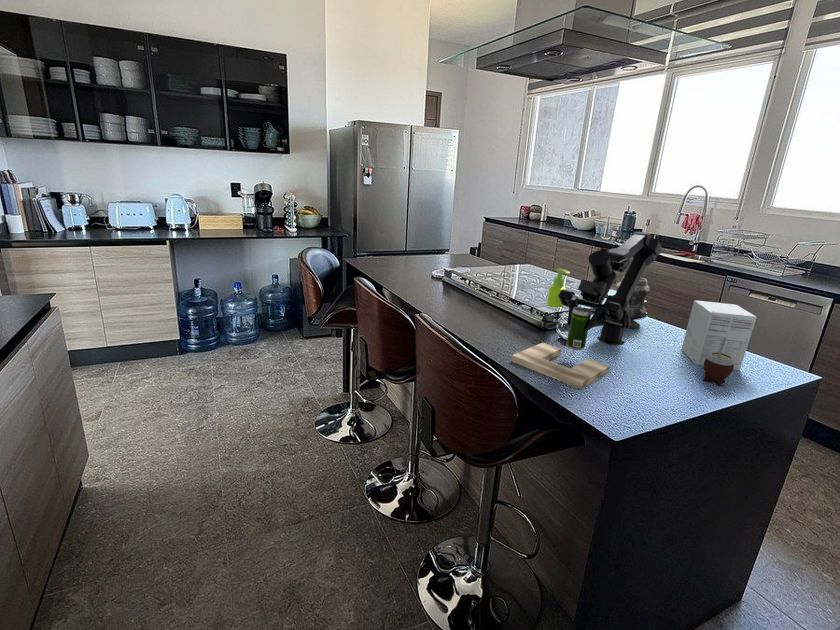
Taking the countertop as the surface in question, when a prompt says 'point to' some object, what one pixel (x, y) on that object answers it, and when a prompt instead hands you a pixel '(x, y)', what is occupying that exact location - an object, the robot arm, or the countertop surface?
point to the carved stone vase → (637, 301)
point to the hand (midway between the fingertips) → (576, 327)
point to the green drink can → (578, 328)
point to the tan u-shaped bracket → (560, 366)
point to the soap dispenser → (556, 289)
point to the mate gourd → (718, 366)
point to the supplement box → (718, 331)
